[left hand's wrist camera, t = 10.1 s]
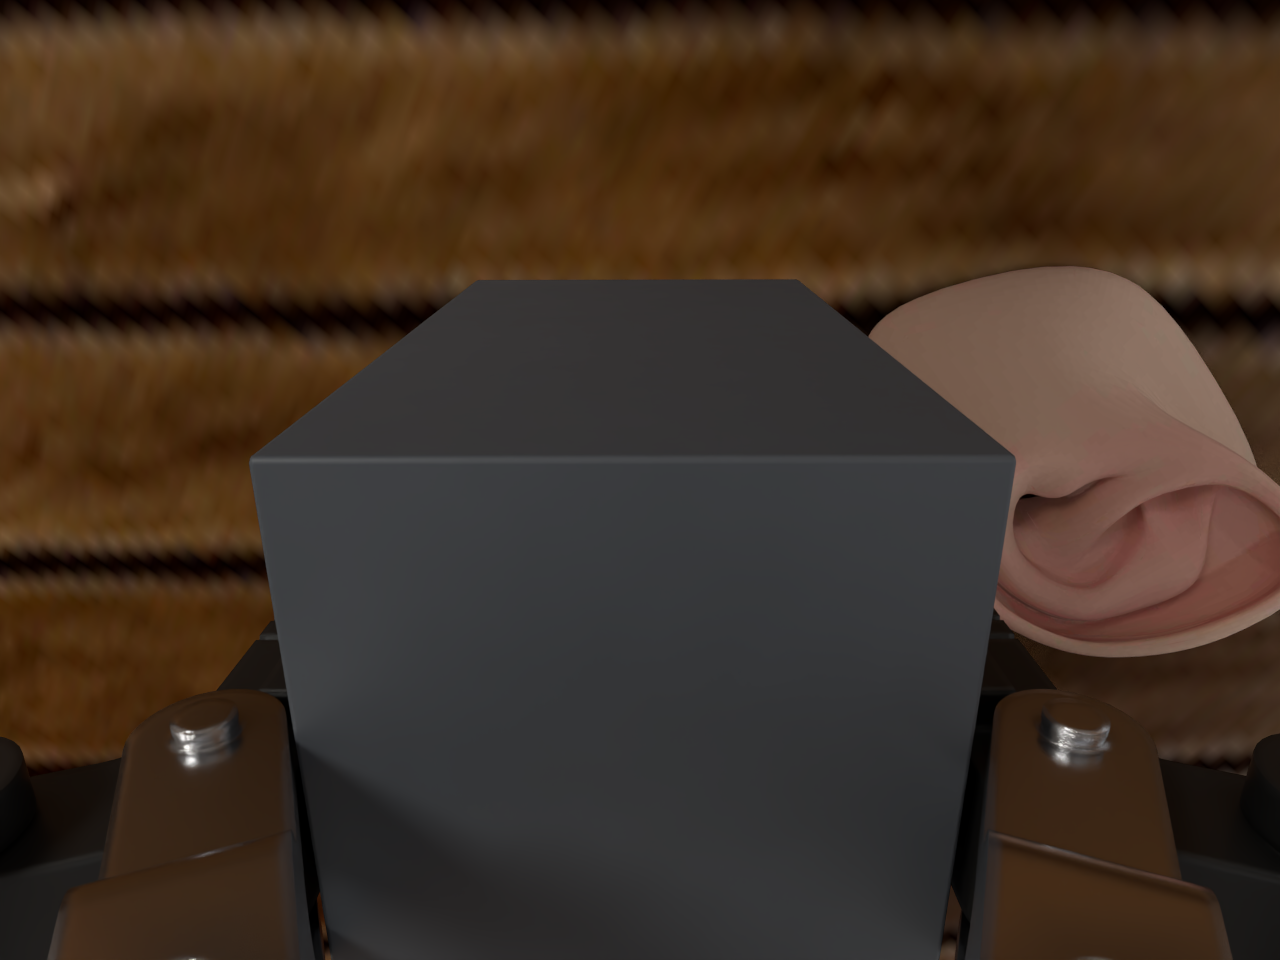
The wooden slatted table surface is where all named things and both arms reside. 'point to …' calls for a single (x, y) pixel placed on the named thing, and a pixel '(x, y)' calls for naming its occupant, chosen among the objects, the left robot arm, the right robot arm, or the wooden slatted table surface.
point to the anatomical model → (1102, 460)
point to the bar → (634, 629)
